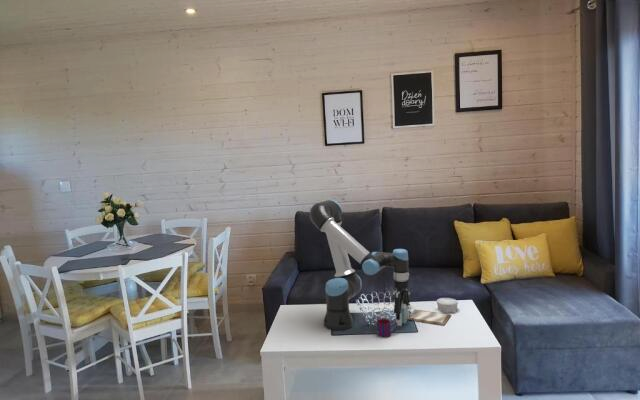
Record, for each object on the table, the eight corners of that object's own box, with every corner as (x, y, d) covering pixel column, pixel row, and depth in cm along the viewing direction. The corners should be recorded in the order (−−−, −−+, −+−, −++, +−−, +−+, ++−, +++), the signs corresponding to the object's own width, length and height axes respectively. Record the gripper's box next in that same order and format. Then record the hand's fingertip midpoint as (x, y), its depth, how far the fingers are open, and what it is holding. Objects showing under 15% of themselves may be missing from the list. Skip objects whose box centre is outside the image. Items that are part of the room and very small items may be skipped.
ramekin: (457, 307, 248) (457, 298, 248) (458, 314, 238) (458, 305, 237) (436, 306, 251) (436, 297, 251) (436, 313, 241) (436, 303, 240)
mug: (376, 332, 220) (376, 318, 219) (396, 331, 219) (396, 318, 218) (377, 337, 213) (377, 324, 212) (398, 337, 212) (398, 323, 212)
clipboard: (406, 320, 233) (405, 317, 233) (414, 310, 246) (414, 308, 246) (444, 325, 223) (444, 323, 223) (451, 315, 236) (451, 313, 236)
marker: (398, 324, 228) (397, 305, 227) (400, 322, 231) (399, 303, 229) (404, 325, 226) (404, 306, 225) (406, 323, 229) (406, 304, 228)
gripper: (400, 286, 214) (402, 330, 217) (415, 274, 234) (416, 314, 236) (386, 285, 218) (387, 328, 220) (401, 273, 237) (402, 312, 240)
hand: (402, 321), depth 228 cm, fingers open, 10 cm apart
